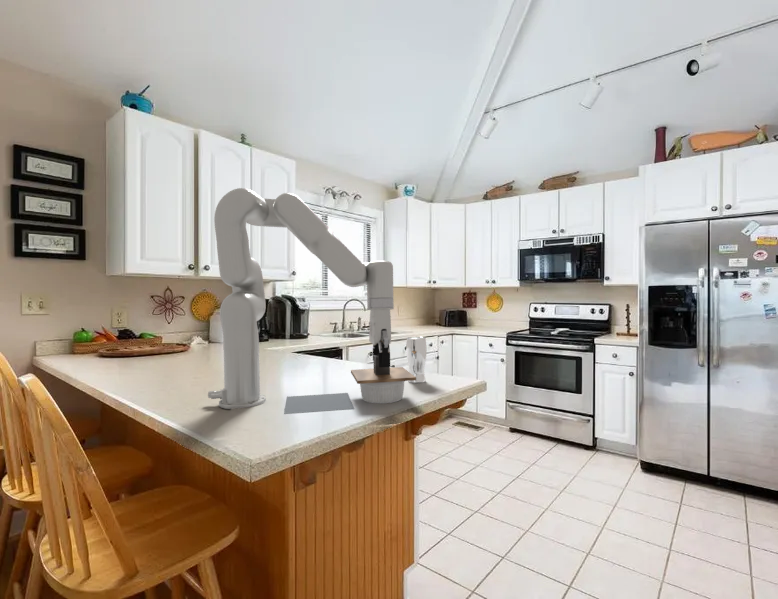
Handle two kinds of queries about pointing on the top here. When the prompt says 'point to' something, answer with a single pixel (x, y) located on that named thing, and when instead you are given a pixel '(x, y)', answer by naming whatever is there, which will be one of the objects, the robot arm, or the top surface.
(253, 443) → the top surface
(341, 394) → the mat
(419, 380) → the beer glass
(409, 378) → the lid
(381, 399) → the ramekin
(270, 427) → the top surface
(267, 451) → the top surface
